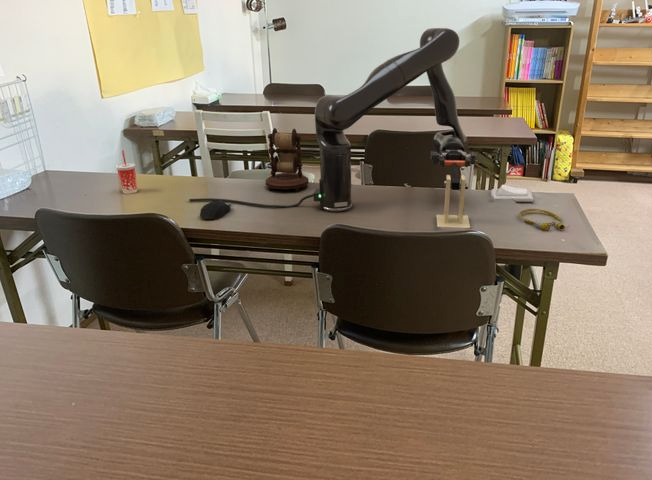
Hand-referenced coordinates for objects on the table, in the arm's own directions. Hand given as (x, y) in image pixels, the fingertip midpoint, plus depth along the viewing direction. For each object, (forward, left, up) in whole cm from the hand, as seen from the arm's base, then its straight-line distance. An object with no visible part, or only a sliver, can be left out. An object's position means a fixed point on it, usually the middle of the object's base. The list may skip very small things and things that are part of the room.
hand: (455, 163), depth 158 cm
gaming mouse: (-70, -4, -16) cm, 72 cm away
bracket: (0, -8, -16) cm, 18 cm away
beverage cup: (-107, +14, -16) cm, 109 cm away
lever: (0, -3, -3) cm, 4 cm away
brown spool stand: (-55, +24, -16) cm, 62 cm away
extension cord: (+25, -3, -16) cm, 30 cm away
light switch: (+20, +19, -16) cm, 32 cm away
